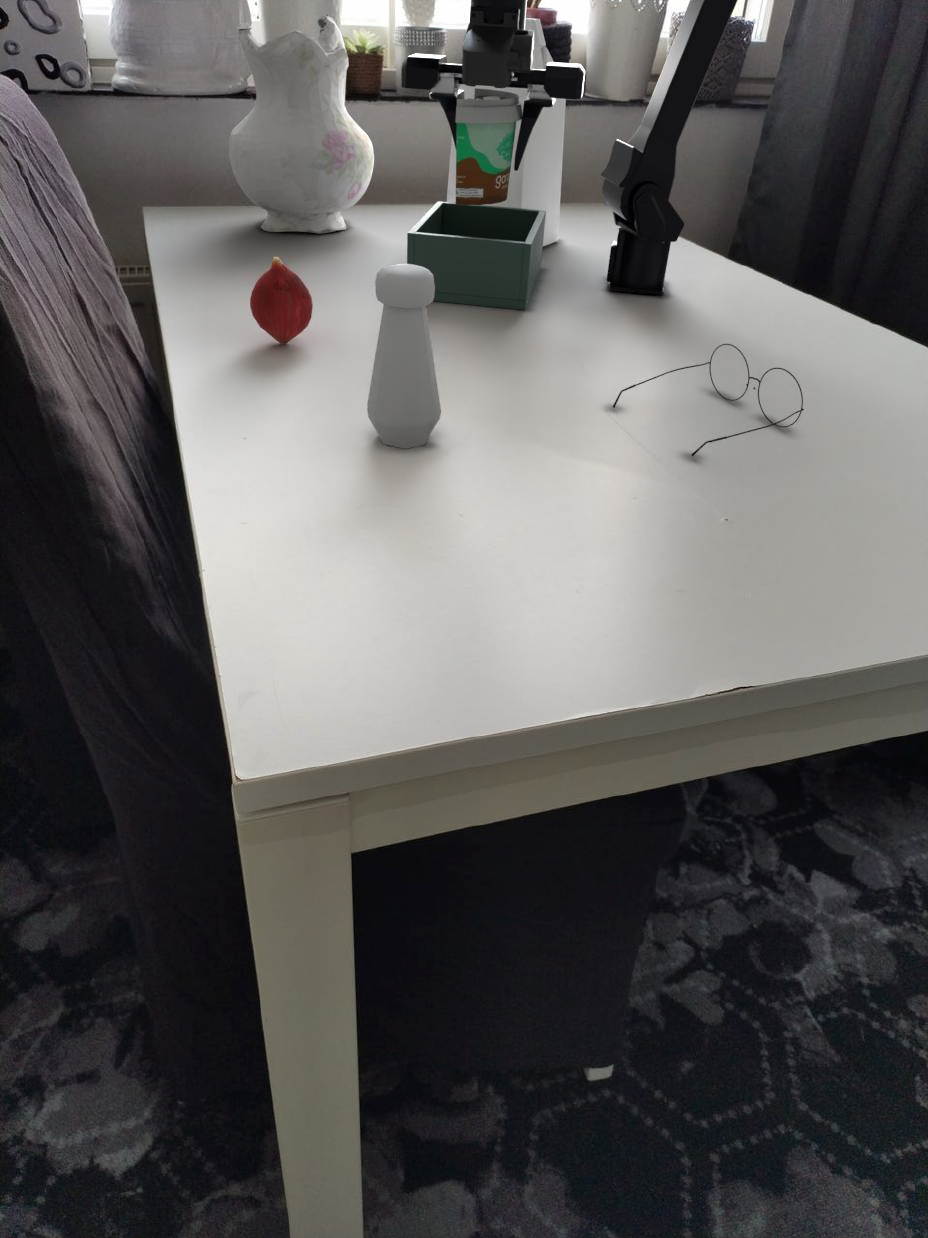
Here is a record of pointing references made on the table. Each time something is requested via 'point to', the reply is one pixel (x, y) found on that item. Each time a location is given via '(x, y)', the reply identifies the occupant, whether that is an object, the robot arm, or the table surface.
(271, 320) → the onion
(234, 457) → the table surface
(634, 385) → the eyeglasses
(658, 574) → the table surface
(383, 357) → the salt shaker
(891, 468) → the table surface
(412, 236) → the green open box
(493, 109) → the food container
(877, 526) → the table surface
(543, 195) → the milk
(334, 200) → the ceramic pitcher
